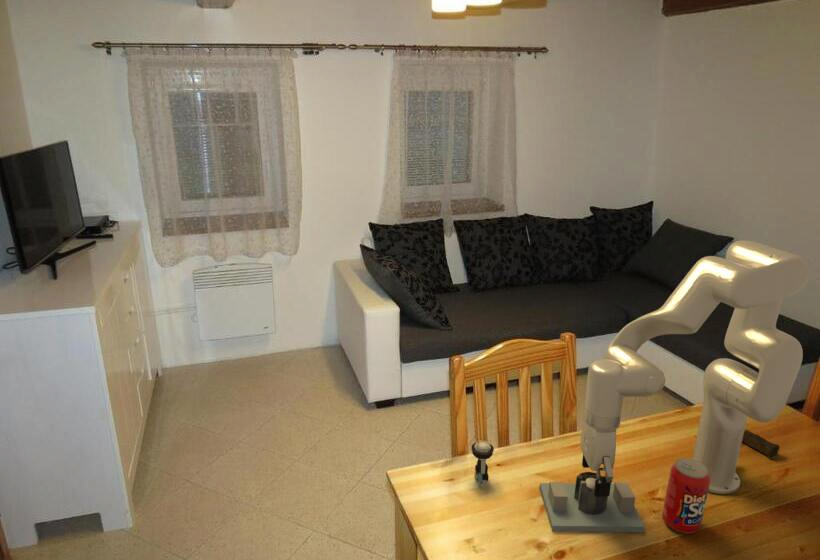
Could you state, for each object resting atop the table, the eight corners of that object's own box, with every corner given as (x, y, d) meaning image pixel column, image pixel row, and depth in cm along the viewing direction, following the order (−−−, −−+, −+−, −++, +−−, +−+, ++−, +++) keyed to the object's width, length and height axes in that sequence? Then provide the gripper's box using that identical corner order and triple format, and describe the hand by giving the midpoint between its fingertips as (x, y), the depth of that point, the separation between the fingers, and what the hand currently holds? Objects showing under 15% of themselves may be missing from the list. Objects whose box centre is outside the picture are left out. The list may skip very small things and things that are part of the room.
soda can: (664, 506, 135) (674, 451, 130) (701, 518, 131) (713, 463, 126) (658, 527, 129) (669, 471, 124) (698, 541, 125) (710, 483, 120)
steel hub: (600, 493, 137) (603, 471, 135) (610, 515, 130) (613, 493, 128) (572, 492, 137) (574, 471, 135) (580, 514, 130) (583, 492, 128)
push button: (495, 488, 140) (498, 453, 137) (474, 490, 140) (475, 455, 137) (488, 471, 147) (490, 437, 143) (467, 472, 146) (469, 438, 143)
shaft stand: (622, 489, 141) (626, 463, 138) (643, 532, 127) (648, 504, 125) (539, 488, 141) (541, 462, 138) (552, 531, 128) (555, 503, 125)
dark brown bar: (778, 457, 153) (782, 442, 152) (769, 461, 152) (773, 446, 150) (714, 421, 169) (717, 406, 168) (705, 424, 167) (708, 410, 166)
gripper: (574, 394, 134) (568, 456, 140) (596, 439, 118) (589, 508, 124) (607, 394, 134) (600, 456, 140) (633, 439, 118) (624, 507, 124)
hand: (595, 480), depth 132 cm, fingers open, 9 cm apart
